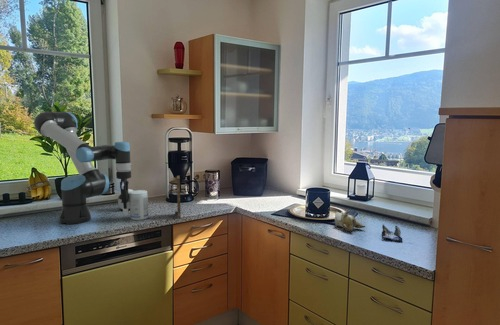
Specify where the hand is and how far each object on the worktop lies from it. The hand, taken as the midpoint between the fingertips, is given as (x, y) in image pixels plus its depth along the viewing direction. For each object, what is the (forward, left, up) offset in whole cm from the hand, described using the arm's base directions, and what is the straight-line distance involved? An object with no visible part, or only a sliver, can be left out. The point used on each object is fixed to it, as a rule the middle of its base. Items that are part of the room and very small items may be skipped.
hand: (125, 214), depth 199 cm
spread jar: (0, +22, -3) cm, 22 cm away
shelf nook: (+26, 0, -3) cm, 27 cm away
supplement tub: (+7, 0, -3) cm, 8 cm away
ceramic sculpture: (+110, -38, -3) cm, 116 cm away
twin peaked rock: (+124, -55, -3) cm, 135 cm away
